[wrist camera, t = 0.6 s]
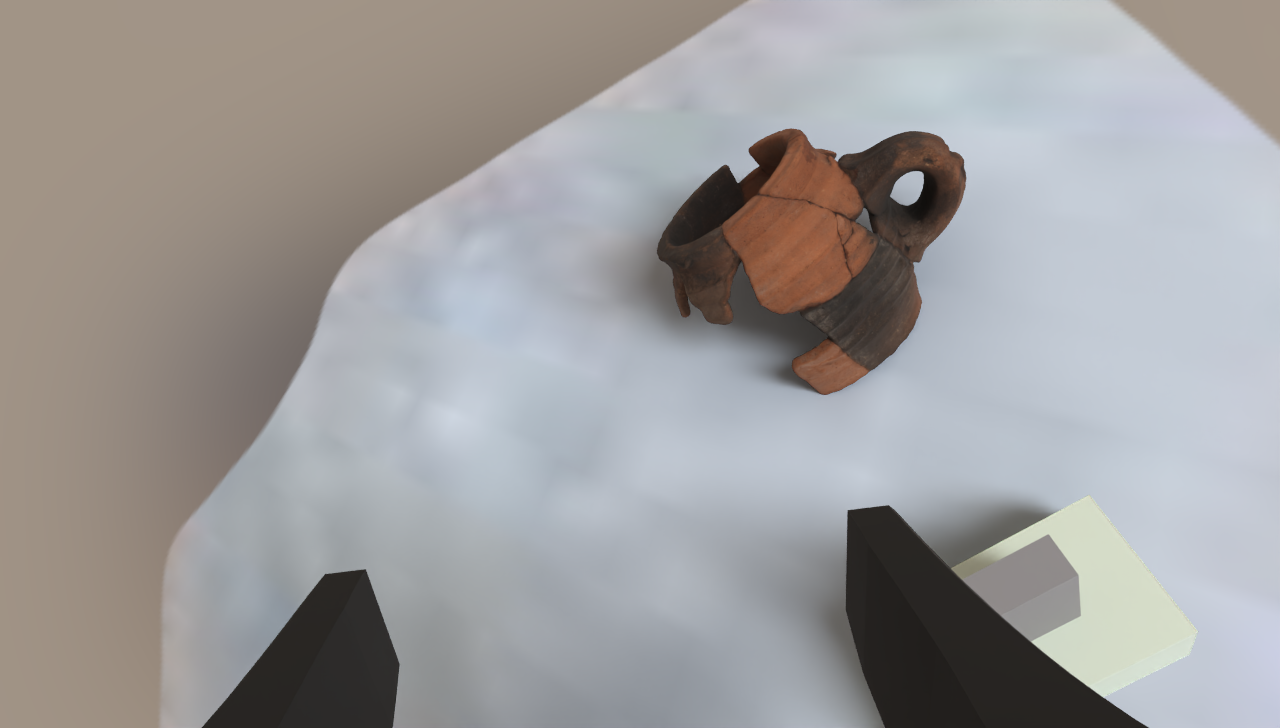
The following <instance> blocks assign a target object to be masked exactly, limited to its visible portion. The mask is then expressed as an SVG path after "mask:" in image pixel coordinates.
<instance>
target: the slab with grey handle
mask: <svg viewBox="0 0 1280 728" xmlns="http://www.w3.org/2000/svg"><path fill="white" fill-rule="evenodd" d="M951 569H952V570H953V571H954V572H955V573H956V574H957V575H958V576H959V577H960V578H961V579H962V580H963V581H964V582H965V583H966V584H967V585H968V586H969V587H970V588H971V589H972V590H974V591H975V592H976V593H977V594H978V595H979V596H980V597H981V598H982V599H983V600H984V601H985V602H986V603H987V604H989V605H990V606H991V607H992V608H993V609H994V610H995V611H996V612H997V613H998V614H999V615H1001V616H1002V617H1003V618H1004V619H1005V620H1006V621H1007V622H1009V623H1010V624H1011V625H1012V626H1013V627H1014V628H1015V629H1017V630H1018V631H1019V632H1020V633H1021V634H1022V635H1024V636H1025V637H1026V638H1027V639H1028V640H1030V641H1031V642H1032V643H1033V644H1034V645H1036V646H1037V647H1038V648H1039V649H1040V650H1042V651H1043V652H1044V653H1045V654H1046V655H1048V656H1049V657H1050V658H1051V659H1053V660H1054V661H1055V662H1056V663H1058V664H1059V665H1060V666H1062V667H1063V668H1064V669H1065V670H1067V671H1068V672H1069V673H1071V674H1072V675H1073V676H1075V677H1076V678H1077V679H1079V680H1080V681H1081V682H1083V683H1084V684H1085V685H1087V686H1088V687H1090V688H1091V689H1092V690H1094V691H1095V692H1096V693H1098V694H1099V695H1100V696H1102V697H1105V696H1107V695H1109V694H1111V693H1113V692H1115V691H1117V690H1119V689H1121V688H1123V687H1125V686H1127V685H1129V684H1131V683H1133V682H1135V681H1137V680H1139V679H1141V678H1143V677H1145V676H1147V675H1149V674H1151V673H1153V672H1155V671H1157V670H1159V669H1161V668H1164V667H1166V666H1168V665H1170V664H1172V663H1174V662H1176V661H1178V660H1180V659H1182V658H1184V657H1186V656H1188V655H1189V654H1190V652H1191V649H1192V646H1193V644H1194V641H1195V638H1196V636H1197V633H1198V631H1197V630H1196V629H1195V627H1194V626H1193V625H1192V623H1191V622H1190V621H1189V620H1188V618H1187V617H1186V616H1185V615H1184V613H1183V612H1182V611H1181V610H1180V608H1179V607H1178V606H1177V605H1176V603H1175V602H1174V601H1173V600H1172V598H1171V597H1170V596H1169V594H1168V593H1167V592H1166V591H1165V589H1164V588H1163V587H1162V586H1161V584H1160V583H1159V582H1158V581H1157V579H1156V578H1155V577H1154V576H1153V574H1152V573H1151V572H1150V571H1149V569H1148V568H1147V567H1146V566H1145V564H1144V563H1143V562H1142V560H1141V559H1140V558H1139V557H1138V555H1137V554H1136V553H1135V552H1134V550H1133V549H1132V548H1131V547H1130V545H1129V544H1128V543H1127V542H1126V540H1125V539H1124V538H1123V537H1122V535H1121V534H1120V533H1119V532H1118V530H1117V529H1116V528H1115V526H1114V525H1113V524H1112V523H1111V521H1110V520H1109V519H1108V518H1107V516H1106V515H1105V514H1104V513H1103V511H1102V510H1101V509H1100V508H1099V506H1098V505H1097V504H1096V503H1095V501H1094V500H1093V499H1092V498H1091V496H1090V495H1088V496H1086V497H1084V498H1082V499H1081V500H1079V501H1077V502H1075V503H1073V504H1071V505H1069V506H1067V507H1065V508H1064V509H1062V510H1060V511H1058V512H1056V513H1054V514H1052V515H1050V516H1048V517H1047V518H1045V519H1043V520H1041V521H1039V522H1037V523H1035V524H1033V525H1031V526H1030V527H1028V528H1026V529H1024V530H1022V531H1020V532H1018V533H1016V534H1014V535H1013V536H1011V537H1009V538H1007V539H1005V540H1003V541H1001V542H999V543H997V544H996V545H994V546H992V547H990V548H988V549H986V550H984V551H982V552H980V553H979V554H977V555H975V556H973V557H971V558H969V559H967V560H965V561H963V562H962V563H960V564H958V565H956V566H954V567H952V568H951Z"/></svg>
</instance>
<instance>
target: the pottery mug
mask: <svg viewBox="0 0 1280 728" xmlns="http://www.w3.org/2000/svg"><path fill="white" fill-rule="evenodd" d="M749 153H750V155H751V156H752V157H753V158H754V159H755V161H756V162H757V163H758V164H759V165H760V166H759V167H758V168H756V169H755V170H753V171H752V172H751V173H749V174H748V175H747V176H746V177H745V178H744V179H743V180H742V181H741V182H740V183H737V182H736V180H735V178H734V176H733V174H732V173H731V171H730V168H729V166H727V165H724V166H722V167H721V168H720V169H718V170H717V171H716V172H715V173H714V174H712V175H711V176H710V177H709V178H708V179H707V180H706V181H705V182H704V183H703V184H702V185H701V186H700V187H699V188H698V189H697V190H696V191H695V192H694V193H693V194H692V195H691V196H690V197H689V199H688V200H687V201H686V202H685V203H684V204H683V205H682V207H681V208H680V209H679V210H678V212H677V213H676V215H675V216H674V217H673V220H672V221H671V222H670V223H669V225H668V226H667V228H666V230H665V231H664V232H663V234H662V238H661V239H660V242H659V244H658V250H657V254H658V256H659V259H660V260H661V261H664V262H665V263H667V264H668V265H669V266H670V267H671V269H672V270H673V275H674V278H673V285H674V289H675V297H676V301H677V304H678V307H679V309H680V312H681V315H682V317H684V318H686V317H688V316H689V315H690V307H689V304H688V297H689V300H690V302H691V303H692V304H693V305H694V306H695V307H697V308H698V309H700V310H701V311H702V313H703V315H704V317H705V319H706V320H707V321H708V322H710V323H713V324H722V325H726V324H729V323H731V322H732V321H733V313H732V310H731V307H730V305H729V303H728V300H729V297H730V290H731V285H732V282H733V278H734V275H735V273H736V271H737V268H738V266H739V264H740V262H741V261H742V263H743V267H744V270H745V272H746V274H747V276H748V278H749V280H750V283H751V285H752V288H753V290H754V292H755V294H756V297H757V300H758V302H759V304H760V305H762V306H764V307H766V308H767V309H768V310H770V311H772V312H775V313H778V314H786V313H793V312H796V311H799V312H800V314H801V316H802V317H803V318H805V319H806V320H807V321H809V322H810V323H812V324H813V325H815V326H816V327H817V328H819V329H820V330H821V331H822V332H824V333H825V334H827V335H828V338H827V339H825V340H824V341H823V342H822V343H821V344H820V345H819V346H817V347H815V348H813V349H812V350H810V351H808V352H806V353H805V354H803V355H801V356H799V357H797V358H795V359H794V360H793V361H792V369H793V371H794V372H795V373H796V374H797V375H798V376H799V377H800V378H801V379H804V380H805V381H807V382H808V383H809V384H810V385H811V386H812V387H813V388H815V389H816V390H817V391H818V392H819V393H820V394H823V395H827V394H830V393H832V392H836V391H839V390H841V389H843V388H845V387H847V386H848V385H851V384H853V383H855V382H856V381H857V380H858V379H860V378H861V377H863V376H865V375H866V374H867V373H868V372H869V371H871V370H873V369H875V368H876V367H877V366H878V365H880V364H881V363H882V362H883V361H884V360H885V359H886V358H887V357H889V356H890V355H892V354H893V353H894V352H895V351H896V349H897V348H898V347H899V345H900V344H901V343H902V342H903V341H904V340H905V339H906V338H907V337H908V335H909V333H910V332H911V331H912V329H913V327H914V325H915V322H916V319H917V318H918V315H919V312H920V308H921V304H922V300H921V297H920V294H919V291H918V287H917V282H916V275H915V273H914V265H913V262H920V261H921V259H922V256H923V253H924V251H925V249H926V248H927V247H928V246H929V245H930V244H931V243H932V242H933V241H934V240H935V239H936V238H937V237H938V236H939V235H940V234H941V233H942V232H943V230H944V229H945V228H946V227H947V225H948V224H949V223H950V221H951V220H952V218H953V216H954V215H955V213H956V211H957V209H958V207H959V206H960V203H961V201H962V198H963V194H964V190H965V186H966V185H965V182H966V172H965V170H964V159H963V158H962V156H961V155H960V154H958V153H956V152H951V151H949V147H948V145H947V144H945V142H944V140H943V139H942V138H941V137H939V136H936V135H933V134H930V133H925V132H918V131H909V132H904V133H900V134H897V135H894V136H892V137H889V138H887V139H885V140H883V141H881V142H880V143H878V144H876V145H875V146H873V147H871V148H869V149H867V150H865V151H863V152H860V153H855V154H846V155H843V156H842V157H841V158H840V159H839V160H838V162H837V161H836V160H835V157H836V155H837V154H836V153H834V152H832V151H828V150H824V149H815V148H813V147H812V145H811V144H810V143H809V141H808V139H807V137H806V135H805V134H804V133H803V132H802V131H801V130H797V129H785V130H783V131H779V132H777V133H774V134H772V135H770V136H767V137H765V138H763V139H761V140H760V141H758V142H757V143H755V144H754V145H752V147H750V148H749ZM912 171H921V172H923V174H924V184H923V189H922V192H921V195H920V197H919V199H918V200H917V201H916V202H915V203H914V204H911V205H909V206H904V205H901V204H899V203H897V202H896V201H895V200H893V199H892V198H891V197H890V194H891V192H892V190H893V186H894V184H895V182H896V181H897V180H898V179H899V178H900V177H901V176H903V175H904V174H906V173H909V172H912ZM863 207H864V208H866V209H867V211H868V214H869V219H870V224H871V227H872V230H873V233H872V232H871V231H869V230H867V228H865V227H863V226H861V225H860V224H859V223H856V222H855V221H856V219H857V218H858V217H859V216H860V215H861V213H862V210H863Z"/></svg>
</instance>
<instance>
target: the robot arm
mask: <svg viewBox="0 0 1280 728" xmlns="http://www.w3.org/2000/svg"><path fill="white" fill-rule="evenodd" d="M846 612H847V616H848V619H849V623H850V627H851V631H852V634H853V638H854V642H855V645H856V649H857V652H858V656H859V659H860V663H861V667H862V670H863V673H864V676H865V679H866V681H867V684H868V686H869V689H870V691H871V694H872V696H873V699H874V701H875V704H876V706H877V709H878V711H879V714H880V716H881V719H882V721H883V724H884V726H885V728H1148V727H1147V726H1145V725H1143V724H1142V723H1140V722H1139V721H1137V720H1135V719H1134V718H1132V717H1131V716H1129V715H1128V714H1126V713H1125V712H1124V711H1122V710H1121V709H1119V708H1118V707H1116V706H1115V705H1113V704H1112V703H1110V702H1109V701H1107V700H1106V699H1105V698H1103V697H1102V696H1100V695H1099V694H1098V693H1096V692H1095V691H1094V690H1092V689H1091V688H1090V687H1088V686H1087V685H1085V684H1084V683H1083V682H1081V681H1080V680H1079V679H1077V678H1076V677H1075V676H1073V675H1072V674H1071V673H1069V672H1068V671H1067V670H1065V669H1064V668H1063V667H1062V666H1060V665H1059V664H1058V663H1056V662H1055V661H1054V660H1053V659H1051V658H1050V657H1049V656H1048V655H1046V654H1045V653H1044V652H1043V651H1042V650H1040V649H1039V648H1038V647H1037V646H1036V645H1034V644H1033V643H1032V642H1031V641H1030V640H1028V639H1027V638H1026V637H1025V636H1024V635H1022V634H1021V633H1020V632H1019V631H1018V630H1017V629H1015V628H1014V627H1013V626H1012V625H1011V624H1010V623H1009V622H1007V621H1006V620H1005V619H1004V618H1003V617H1002V616H1001V615H999V614H998V613H997V612H996V611H995V610H994V609H993V608H992V607H991V606H990V605H989V604H987V603H986V602H985V601H984V600H983V599H982V598H981V597H980V596H979V595H978V594H977V593H976V592H975V591H974V590H972V589H971V588H970V587H969V586H968V585H967V584H966V583H965V582H964V581H963V580H962V579H961V578H960V577H959V576H958V575H957V574H956V573H955V572H954V571H953V570H952V569H951V568H950V567H949V566H948V565H947V564H946V563H945V562H944V561H943V560H942V559H941V558H940V557H939V556H938V555H937V554H936V553H935V552H934V551H933V550H932V549H931V548H930V547H929V546H928V545H927V544H926V543H925V542H924V541H923V540H922V539H921V538H920V537H919V536H918V534H917V533H916V532H915V531H914V530H913V529H912V528H911V527H910V526H909V525H908V524H907V523H906V522H905V521H904V519H903V518H902V517H901V516H900V515H899V514H898V513H897V512H896V511H895V510H894V509H893V508H891V507H890V506H889V505H888V506H879V507H871V508H863V509H855V510H848V520H847V573H846ZM398 674H399V661H398V659H397V656H396V653H395V650H394V647H393V645H392V642H391V639H390V636H389V633H388V631H387V628H386V625H385V622H384V619H383V617H382V614H381V611H380V608H379V605H378V603H377V600H376V597H375V594H374V591H373V589H372V586H371V583H370V580H369V577H368V575H367V572H366V569H364V570H356V571H348V572H340V573H332V574H325V575H324V576H323V578H322V579H321V580H320V581H319V582H318V584H317V585H316V586H315V587H314V589H313V590H312V591H311V592H310V594H309V595H308V596H307V598H306V599H305V600H304V601H303V603H302V604H301V605H300V607H299V608H298V609H297V611H296V612H295V613H294V615H293V616H292V617H291V618H290V620H289V621H288V622H287V624H286V625H285V626H284V628H283V629H282V630H281V631H280V633H279V634H278V635H277V637H276V638H275V639H274V640H273V642H272V643H271V644H270V646H269V647H268V648H267V650H266V651H265V652H264V653H263V655H262V656H261V657H260V658H259V660H258V661H257V662H256V663H255V665H254V666H253V667H252V668H251V670H250V671H249V672H248V673H247V674H246V676H245V677H244V678H243V679H242V681H241V682H240V683H239V684H238V686H237V687H236V688H235V689H234V691H233V692H232V693H231V694H230V696H229V697H228V698H227V699H226V700H225V701H224V703H223V704H222V705H221V706H220V707H219V708H218V710H217V711H216V712H215V713H214V714H213V715H212V716H211V718H210V719H209V720H208V721H207V722H206V723H205V725H204V726H203V727H202V728H392V727H393V719H394V711H395V703H396V694H397V684H398Z"/></svg>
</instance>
